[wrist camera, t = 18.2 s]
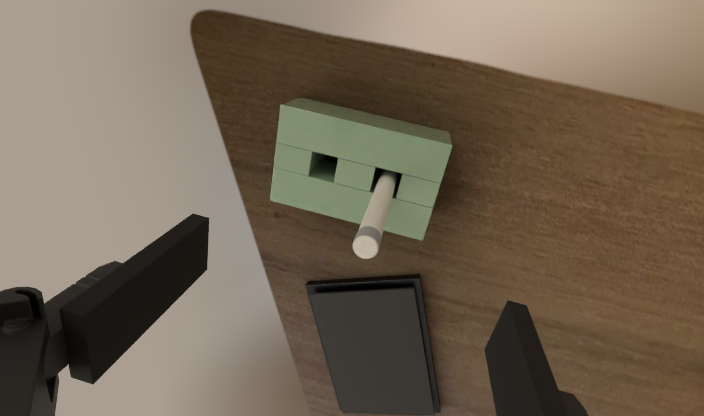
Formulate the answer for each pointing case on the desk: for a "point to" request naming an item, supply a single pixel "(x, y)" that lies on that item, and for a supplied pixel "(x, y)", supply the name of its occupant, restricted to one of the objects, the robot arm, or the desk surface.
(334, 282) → the tablet
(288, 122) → the pen stand
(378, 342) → the screen
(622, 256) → the desk surface
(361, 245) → the stylus
